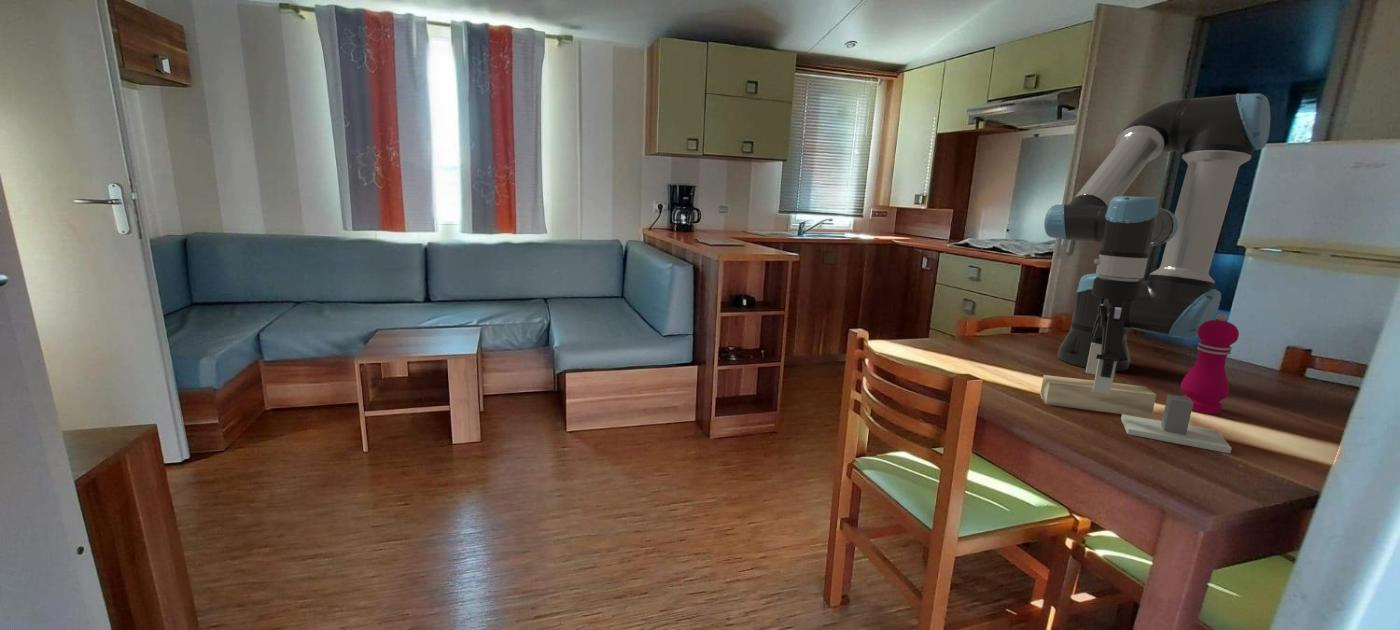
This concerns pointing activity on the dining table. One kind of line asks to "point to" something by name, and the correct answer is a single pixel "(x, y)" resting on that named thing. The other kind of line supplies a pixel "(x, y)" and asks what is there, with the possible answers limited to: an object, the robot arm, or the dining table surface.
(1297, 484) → the dining table surface
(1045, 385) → the beech bar
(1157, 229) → the robot arm
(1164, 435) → the stand
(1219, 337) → the pepper mill
